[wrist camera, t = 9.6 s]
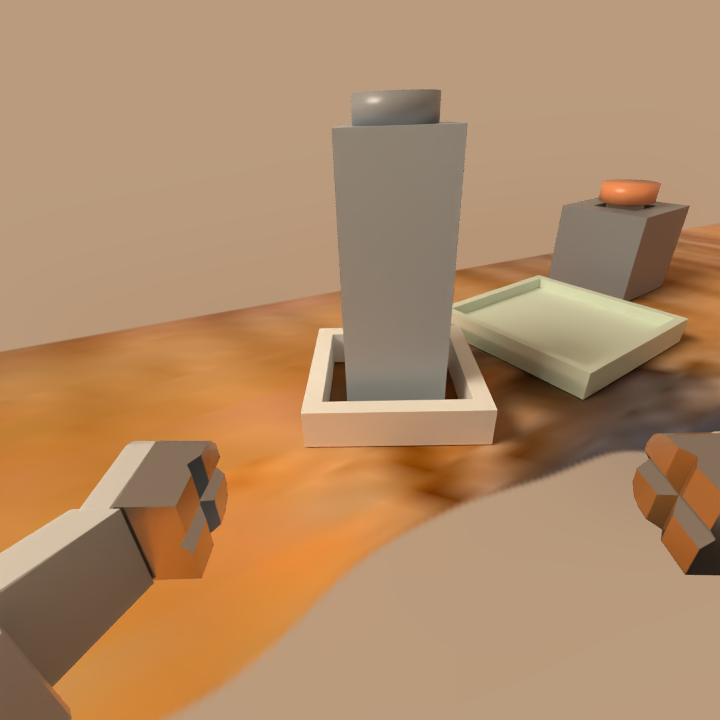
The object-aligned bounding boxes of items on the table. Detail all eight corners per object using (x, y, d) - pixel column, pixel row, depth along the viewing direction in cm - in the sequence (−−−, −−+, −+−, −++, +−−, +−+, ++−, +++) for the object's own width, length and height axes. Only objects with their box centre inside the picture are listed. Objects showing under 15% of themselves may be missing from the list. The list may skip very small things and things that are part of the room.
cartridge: (443, 419, 20) (470, 86, 13) (348, 420, 20) (329, 91, 13) (430, 369, 23) (447, 93, 17) (351, 371, 24) (337, 97, 17)
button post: (662, 285, 33) (689, 205, 30) (621, 304, 30) (647, 217, 27) (589, 267, 38) (606, 196, 35) (547, 282, 35) (562, 205, 32)
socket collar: (492, 444, 18) (497, 410, 17) (305, 447, 18) (300, 413, 17) (457, 353, 25) (459, 325, 24) (322, 355, 25) (319, 328, 24)
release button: (645, 262, 33) (670, 182, 30) (620, 271, 31) (644, 188, 28) (600, 252, 35) (619, 178, 32) (575, 260, 33) (592, 183, 31)
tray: (679, 341, 25) (688, 318, 25) (583, 399, 21) (590, 373, 20) (535, 294, 33) (538, 275, 32) (439, 328, 28) (440, 307, 27)
